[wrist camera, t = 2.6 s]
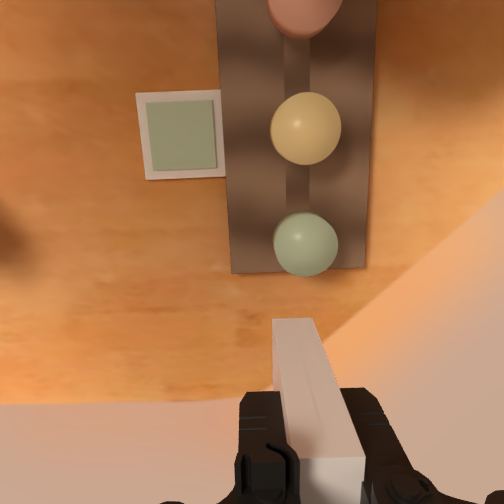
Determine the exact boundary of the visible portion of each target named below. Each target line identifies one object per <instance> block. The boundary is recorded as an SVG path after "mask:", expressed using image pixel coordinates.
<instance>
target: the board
mask: <svg viewBox="0 0 504 504" xmlns="http://www.w3.org/2000/svg"><path fill="white" fill-rule="evenodd" d="M215 9H216V25H217V42H218V58H219V75H220V91H221V108H222V124H223V141H224V157H225V174H226V190H227V207H228V223H229V240H230V256H231V273H232V274H241V273H261V272H281V271H286V270H285V269H284V268H283V267H282V266H281V265H280V263H279V261H278V259H277V257H276V254H275V250H274V247H273V233H274V229H275V227H276V225H277V224H278V222H279V221H280V220H281V219H282V218H283V217H284V216H286V215H287V214H289V213H291V212H294V211H299V210H307V211H312V212H314V213H317V214H318V215H320V216H321V217H322V218H323V219H324V220H325V221H326V222H327V223H329V224H330V226H331V227H332V228H333V229H334V231H335V233H336V236H337V239H338V251H337V255H336V257H335V259H334V261H333V262H332V264H331V265H330V266H329V267H328V268H327V269H343V268H363V267H364V265H365V244H366V223H367V203H368V182H369V161H370V141H371V120H372V99H373V79H374V58H375V37H376V17H377V0H342V3H341V6H340V8H339V9H338V11H337V13H336V14H335V15H334V17H333V18H332V19H331V21H330V22H329V23H328V24H327V26H326V27H325V28H324V29H323V30H322V31H321V32H320V33H319V34H317V35H315V36H313V37H311V38H308V39H292V38H289V37H287V36H285V35H283V34H282V33H281V32H280V31H278V30H277V29H276V27H275V26H274V25H273V23H272V21H271V19H270V17H269V14H268V11H267V4H266V0H215ZM303 92H313V93H317V94H320V95H322V96H324V97H326V98H327V99H329V100H330V101H331V102H332V103H333V104H334V106H335V107H336V109H337V111H338V113H339V116H340V120H341V134H340V138H339V141H338V144H337V146H336V147H335V149H334V150H333V152H332V153H331V154H330V155H329V156H328V157H326V158H325V159H324V160H322V161H320V162H318V163H315V164H311V165H300V164H296V163H293V162H291V161H289V160H286V159H285V158H283V157H282V156H281V155H279V153H278V152H277V151H276V150H275V148H274V146H273V144H272V142H271V138H270V123H271V119H272V117H273V115H274V113H275V111H276V110H277V108H278V107H279V106H280V105H281V104H282V103H283V102H285V101H286V100H287V99H288V98H290V97H292V96H293V95H296V94H299V93H303Z"/></svg>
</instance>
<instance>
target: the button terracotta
mask: <svg viewBox="0 0 504 504" xmlns="http://www.w3.org/2000/svg"><path fill="white" fill-rule="evenodd" d="M341 3H342V0H266V4H267V11H268V14H269V17H270V19H271V21H272V23H273V25H274V26H275V27H276V29H277V30H278V31H280V32H281V33H282V34H283V35H285V36H287V37H289V38H292V39H308V38H311V37H313V36H315V35H317V34H319V33H320V32H321V31H322V30H323V29H324V28H325V27H326V26H327V24H328V23H329V22H330V21H331V19H332V18H333V17H334V15H335V14H336V13H337V11H338V9H339V8H340V6H341Z"/></svg>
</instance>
